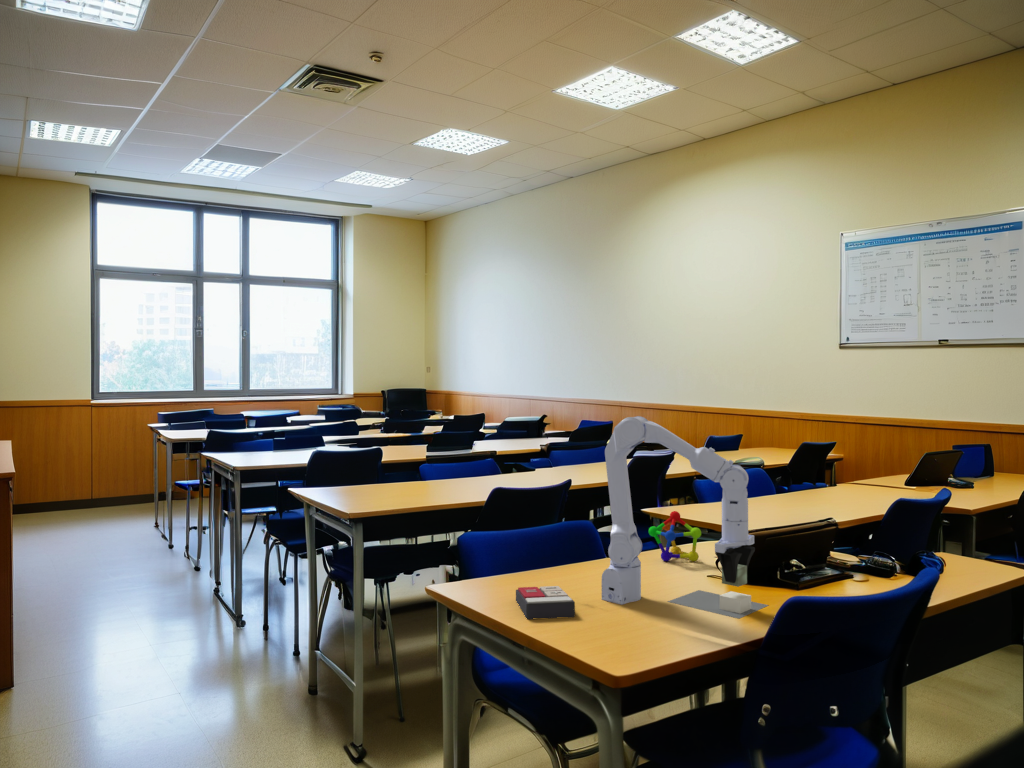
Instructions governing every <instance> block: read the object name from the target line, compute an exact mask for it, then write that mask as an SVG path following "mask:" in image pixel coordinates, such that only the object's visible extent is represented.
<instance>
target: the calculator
mask: <svg viewBox="0 0 1024 768" xmlns="http://www.w3.org/2000/svg"><path fill="white" fill-rule="evenodd" d="M516 601H517V602H516ZM515 602H516V604H517V603H518V604H519V605H518V604H517V605H518V607H519V606H520V607H519V609H520V610H521V609H522V610H521V611H522V614H523V613H524V614H523V616H524V615H525V616H524V617H526V618H527V619H526V618H525V619H526V620H534V619H533V618H548V619H558V618H557V617H568V618H575V616H576V612H575V611H576V610H575V609H576V604H575V601H574V600H573V598H572V597H571V596H569V595H568V593H566V591H565V590H563V589H562V588H561V587H560V586H559V585H551V586H549V585H547V586H546V585H545V586H539V587H538V586H528V587H527V586H525V587H524V586H522V587H521V586H519V587H517V589H515Z"/></svg>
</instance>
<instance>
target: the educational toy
mask: <svg viewBox="0 0 1024 768" xmlns="http://www.w3.org/2000/svg"><path fill="white" fill-rule="evenodd" d="M677 522H678V523H680V524H681V525H682V526H684V527H685V528H686V529H687V530H689V531H686V532H685V531H684V532H679V533H678V532H676V533H675V531H674V530H675V526H676V523H677ZM663 530H664V531H665V532H664V531H663ZM648 534H649V536H650V537H654V539H655V541H656V543H657V545H658V547H659V549H660V551H661V553H660V558H661V560H662V561H663V562H670V560H672V559H688V560H689V561H690V562H692V561H695V562H697V561H698V560H699V554H698V552H697V551H696V549H697V542H698V541H697V540H698V539H699V538H700V537H701V536H702V531H701V529H700V528H699V527H692V526H691V525H689V524H688V523H687V522H686V521H684V520H683V519H682V518H681V514H680V512H679V511H677V510H673V511H671V512H670V514H669V517H668V518H667V519H666V520H665V521H663V522H662V523H660V524H659V525H657V526H655V525H654V526H650V527H648ZM658 535H659V536H663V537H665V540H666V541H667V542H666V546H665V548H664V545H663V543H662V541H661V539H660V537H659V536H658ZM687 536H688V537H689V536H690V537H691V538H693V539H692V548H691V551H689V552H687V551H682V548H681V547H679V546H678V545H677V544H676V541H675V540H676V538H680V537H687ZM671 546H672V547H671ZM670 547H671V549H670Z"/></svg>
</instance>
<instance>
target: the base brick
mask: <svg viewBox="0 0 1024 768" xmlns="http://www.w3.org/2000/svg"><path fill="white" fill-rule="evenodd" d="M719 595H720V609H723V610H727V611H731V612H736V613H740V614H741V613H743V612H745V611H747V610H750V609H751V601H752V595H751V594H745V593H740V592H736V591H732V590H730V591H728V592H724V593H722V594H719Z"/></svg>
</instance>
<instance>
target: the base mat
mask: <svg viewBox="0 0 1024 768" xmlns="http://www.w3.org/2000/svg"><path fill="white" fill-rule="evenodd" d="M720 595H721V594H719V593H714V592H709V591H704V590H701V589H699V590H694V591H692V592H689V593H687V594H685V595H684V594H683V595H682V596H678V597H676V598H673V599H671V600H668V601H667V603H671V604H675V605H676V604H677V605H680V606H684V607H688V608H691V609H692V608H693V609H697V610H701V611H705V612H708V613H709V612H710V613H713V614H718V615H721V616H726V617H730V618H734V619H738V620H739V619H742V618H744V617H746V616H748V615H751V614H752V613H755V612H757V611H759V610H762V609H764V608H766V607H768V606H770V605H768V604H764V603H760V602H755V601H752V600H751V609H750V610H747V611H745V612H743V613H741V614H740V613H736V612H731V611H727V610H723V609H720Z"/></svg>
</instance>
